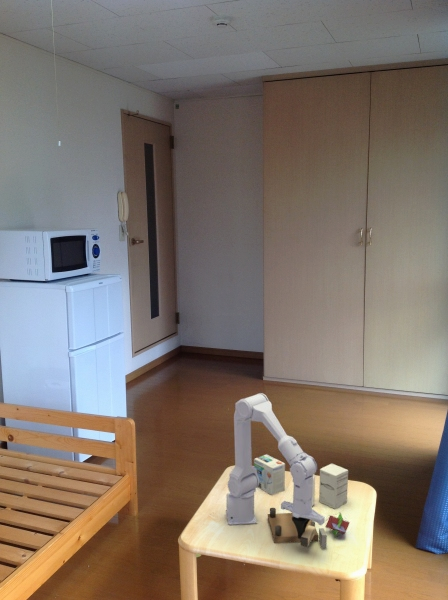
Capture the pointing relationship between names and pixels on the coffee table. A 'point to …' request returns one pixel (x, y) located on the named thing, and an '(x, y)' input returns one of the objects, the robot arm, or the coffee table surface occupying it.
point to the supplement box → (333, 486)
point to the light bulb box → (270, 474)
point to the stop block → (322, 538)
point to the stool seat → (285, 527)
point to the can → (313, 491)
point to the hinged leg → (308, 535)
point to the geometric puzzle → (337, 524)
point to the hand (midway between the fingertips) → (301, 537)
